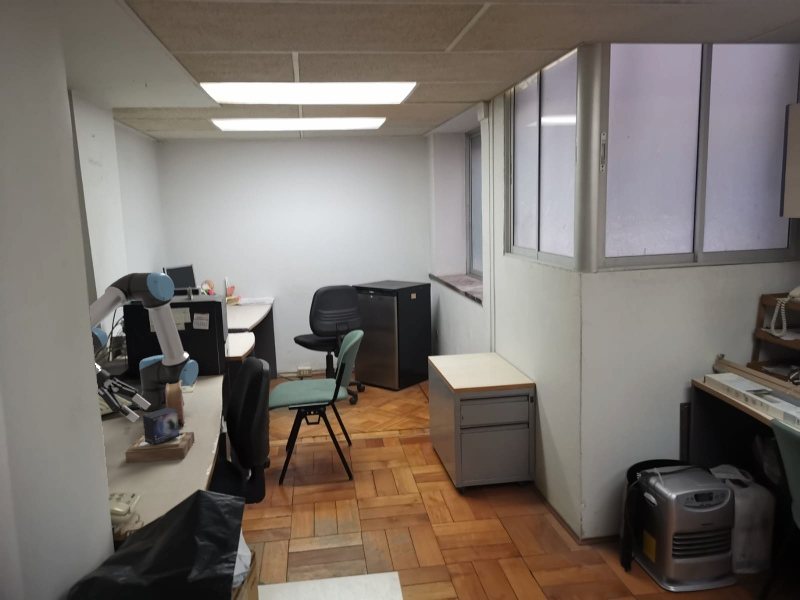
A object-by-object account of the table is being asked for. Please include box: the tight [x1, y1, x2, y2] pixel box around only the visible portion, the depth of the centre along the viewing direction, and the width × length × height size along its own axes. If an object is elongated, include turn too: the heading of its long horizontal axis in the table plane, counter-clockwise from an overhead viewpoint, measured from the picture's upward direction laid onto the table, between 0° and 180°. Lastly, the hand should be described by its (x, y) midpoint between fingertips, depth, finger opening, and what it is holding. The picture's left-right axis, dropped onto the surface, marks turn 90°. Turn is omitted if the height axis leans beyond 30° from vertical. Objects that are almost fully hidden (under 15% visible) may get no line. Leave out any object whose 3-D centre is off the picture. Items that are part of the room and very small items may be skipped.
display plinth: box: [124, 431, 196, 464], centre depth 222 cm, size 16×20×5 cm
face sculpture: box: [165, 380, 186, 426], centre depth 253 cm, size 20×7×17 cm, turn 21°
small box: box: [142, 407, 180, 445], centre depth 221 cm, size 11×6×10 cm, turn 144°
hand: (142, 413), depth 220 cm, fingers open, 13 cm apart
